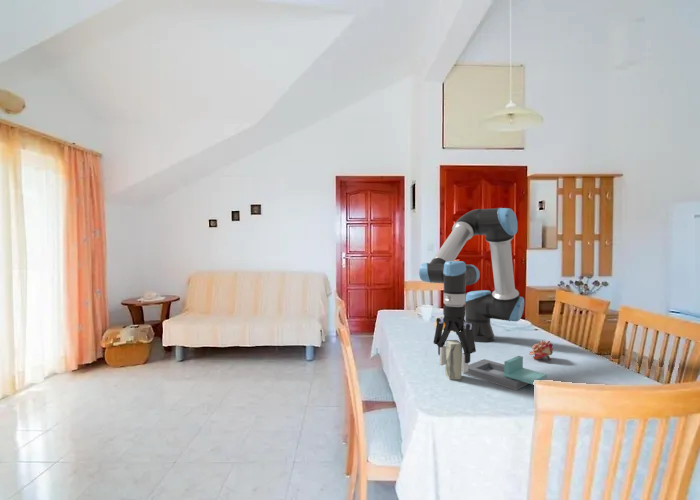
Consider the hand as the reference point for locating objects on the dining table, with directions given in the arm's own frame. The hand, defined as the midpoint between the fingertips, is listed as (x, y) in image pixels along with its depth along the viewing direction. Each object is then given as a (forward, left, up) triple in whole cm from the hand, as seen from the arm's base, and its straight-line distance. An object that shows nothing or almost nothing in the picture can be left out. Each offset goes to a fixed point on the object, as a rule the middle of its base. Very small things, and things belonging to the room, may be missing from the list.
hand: (453, 367), depth 139 cm
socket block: (+10, +13, -3) cm, 17 cm away
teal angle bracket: (+19, +13, -1) cm, 23 cm away
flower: (+11, +44, -4) cm, 46 cm away
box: (0, 0, -4) cm, 4 cm away
